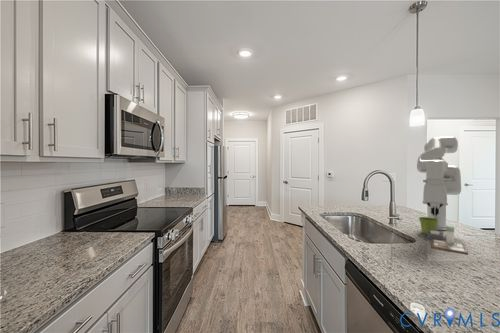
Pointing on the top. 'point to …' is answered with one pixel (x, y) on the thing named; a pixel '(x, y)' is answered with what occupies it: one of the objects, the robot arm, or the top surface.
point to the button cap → (434, 232)
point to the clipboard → (449, 246)
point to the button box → (434, 236)
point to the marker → (449, 235)
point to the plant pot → (428, 224)
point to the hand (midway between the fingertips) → (434, 215)
